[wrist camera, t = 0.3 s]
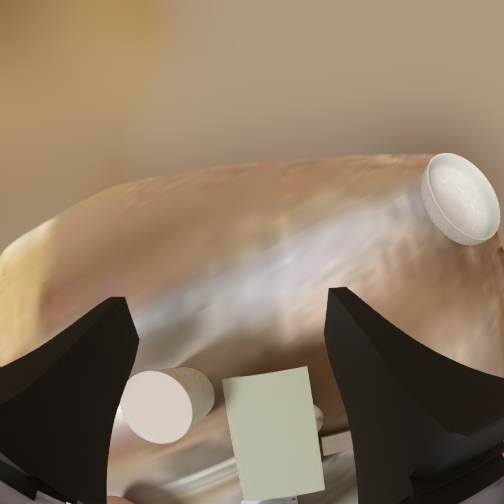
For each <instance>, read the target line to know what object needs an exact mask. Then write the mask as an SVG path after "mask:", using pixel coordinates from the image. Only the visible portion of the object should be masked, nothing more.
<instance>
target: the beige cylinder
mask: <svg viewBox="0 0 504 504" xmlns="http://www.w3.org/2000/svg"><path fill="white" fill-rule="evenodd" d="M214 400H215V393H214V388H213V386H212V384H211V382H210V380H209V379H208V378H207V377H206V376H205V375H204V374H203V373H202V372H200V371H198V370H196V369H193V368H189V367H180V368H171V369H162V370H152V371H144V372H140V373H138V374H136V375H134V376H133V377H131V378H130V379H129V380H128V381H127V384H126V386H125V389H124V392H123V395H122V397H121V409H122V413H123V416H124V418H125V420H126V422H127V423H128V425H129V426H130V428H131V429H132V430H133V431H134V432H135V433H136V434H138V435H139V436H140V437H142V438H144V439H146V440H148V441H150V442H154V443H161V444H164V443H171V442H174V441H176V440H178V439H180V438H181V437H182V436H183V435H185V434H186V433H187V432H188V431H189V430H190V429H191V428H193V427H194V426H195V425H196V424H197V423H198V422H199V421H200V420H202V419H203V418H204V417H205V416H206V415H207V414H208V413H209V412H210V411H211V409H212V407H213V405H214Z"/></svg>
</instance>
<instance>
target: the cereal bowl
mask: <svg viewBox="0 0 504 504" xmlns="http://www.w3.org/2000/svg"><path fill="white" fill-rule="evenodd" d="M421 194H422V200H423V203H424V206H425V209H426V211H427V213H428V215H429V217H430V219H431V221H432V222H433V223H434V225H435V226H436V227H437V228H438V229H439V230H440V231H441V232H442V233H443V234H444V235H445V236H446V237H448V238H449V239H451V240H453V241H454V242H457V243H460V244H463V245H468V246H469V245H477V244H480V243H483V242H485V241H487V240H488V239H490V238H491V237H492V236H493V235H494V234H495V233H496V231H497V230H498V227H499V224H500V207H499V203H498V200H497V197H496V194H495V192H494V190H493V188H492V186H491V184H490V183H489V181H488V180H487V178H486V177H485V176H484V175H483V173H482V172H481V171H480V170H479V169H478V168H477V167H476V166H474V165H473V164H472V163H471V162H469V161H468V160H466V159H465V158H463V157H461V156H458V155H455V154H451V153H442V154H438V155H436V156H434V157H433V158H432V159H431V160H430V161H429V163H428V164H427V166H426V168H425V170H424V173H423V176H422V180H421Z"/></svg>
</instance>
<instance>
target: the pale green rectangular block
mask: <svg viewBox="0 0 504 504" xmlns="http://www.w3.org/2000/svg"><path fill="white" fill-rule="evenodd" d="M222 386H223V392H224V398H225V404H226V410H227V416H228V422H229V427H230V433H231V438H232V444H233V449H234V454H235V459H236V464H237V469H238V474H239V479H240V483H241V488H242V493H243V497H244V502H246V501H258V500H268V499H276V498H284V497H290V496H296V495H302V494H307V493H313V492H317V491H322V490H325V486H324V478H323V470H322V463H321V455H320V448H319V440H318V433H317V426H316V420H315V413H314V406H313V400H312V394H311V387H310V381H309V375H308V369H307V366H304V367H299V368H294V369H288V370H282V371H277V372H271V373H264V374H258V375H251V376H243V377H240V376H233V377H231V378H227V379H222Z"/></svg>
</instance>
